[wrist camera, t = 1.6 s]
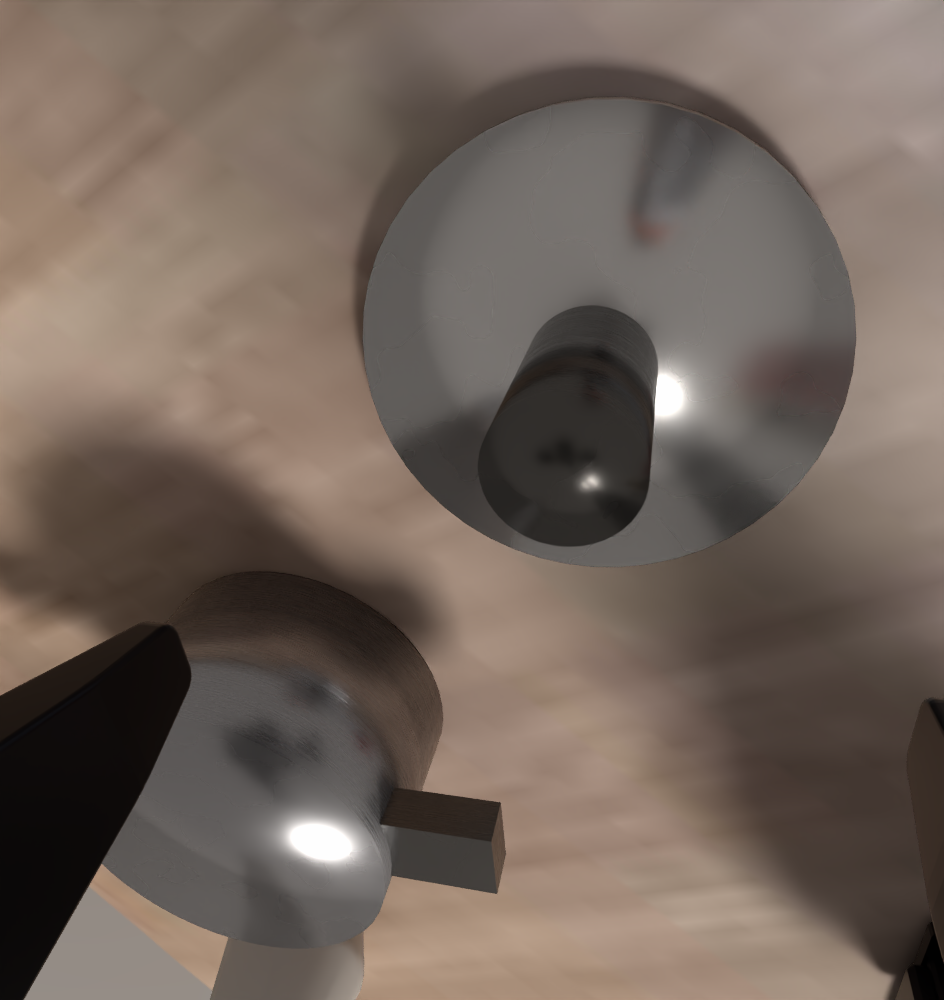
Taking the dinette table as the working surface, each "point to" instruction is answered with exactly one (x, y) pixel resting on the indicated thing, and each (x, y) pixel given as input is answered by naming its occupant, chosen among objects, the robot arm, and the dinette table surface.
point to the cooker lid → (609, 332)
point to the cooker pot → (298, 772)
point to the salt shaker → (290, 972)
